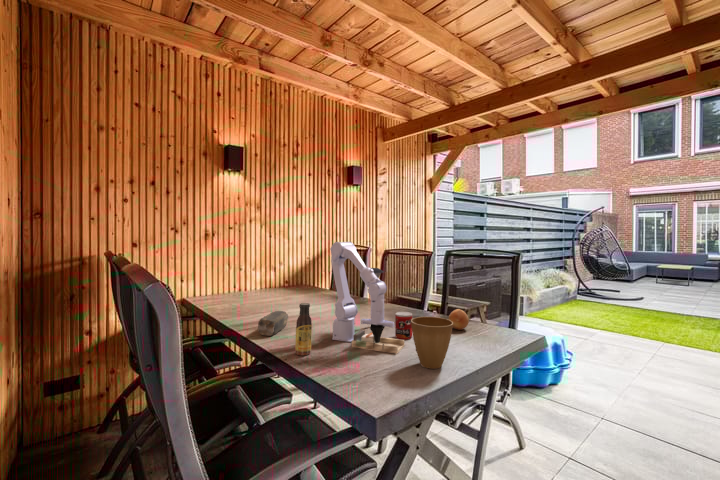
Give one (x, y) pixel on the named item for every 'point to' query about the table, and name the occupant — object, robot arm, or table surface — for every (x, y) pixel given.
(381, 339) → the track
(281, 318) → the stone block
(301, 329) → the sauce bottle
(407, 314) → the canned food
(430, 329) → the plant pot
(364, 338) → the cream gift box
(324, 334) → the table surface
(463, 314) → the onion
